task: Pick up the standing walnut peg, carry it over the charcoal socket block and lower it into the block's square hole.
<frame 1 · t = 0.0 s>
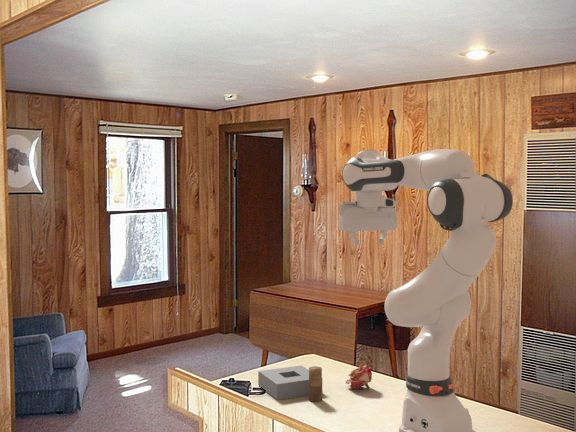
hand: (368, 244, 189), 48 cm above the kitchen counter, fingers open, 8 cm apart
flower: (358, 389, 196), on the kitchen counter
peg: (315, 399, 185), on the kitchen counter
socket block: (289, 389, 196), on the kitchen counter
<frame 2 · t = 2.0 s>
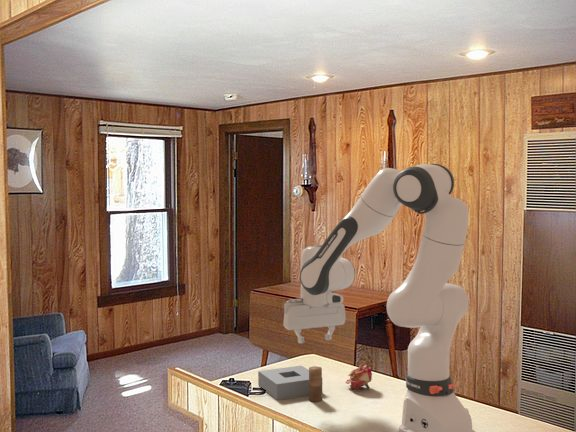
hand: (314, 341, 185), 18 cm above the kitchen counter, fingers open, 8 cm apart
nothing on the kitchen counter moved.
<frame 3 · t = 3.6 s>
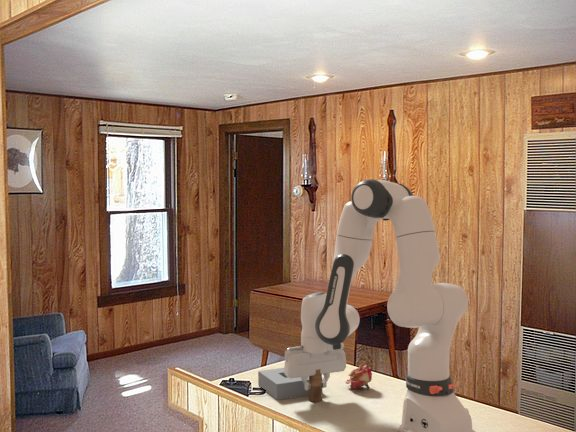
hand: (315, 388, 185), 4 cm above the kitchen counter, fingers closed on peg, 4 cm apart
peg: (315, 399, 185), on the kitchen counter, touching gripper
everything else where it was.
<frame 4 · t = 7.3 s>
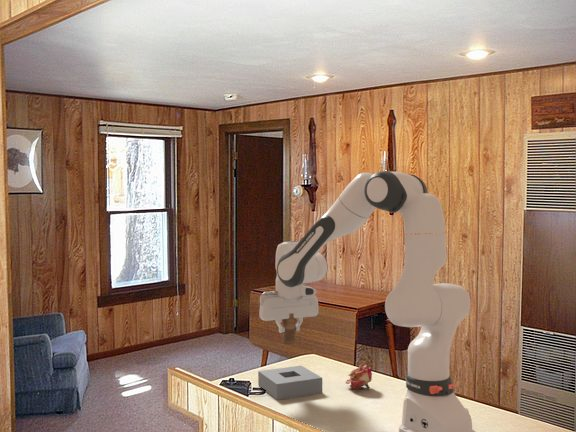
hand: (289, 331, 195), 19 cm above the kitchen counter, fingers closed on peg, 4 cm apart
peg: (289, 342, 195), point 15 cm above the kitchen counter, touching gripper
everything else where it was.
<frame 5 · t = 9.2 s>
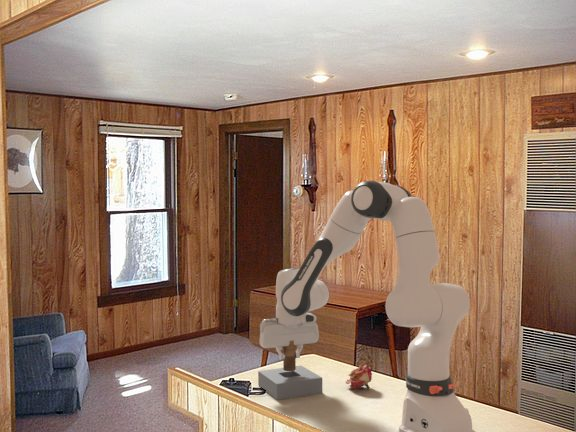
hand: (289, 358, 196), 10 cm above the kitchen counter, fingers closed on peg, 4 cm apart
peg: (289, 369, 196), point 7 cm above the kitchen counter, touching gripper
everything else where it was.
when the fingers open (6 cm above the kitchen counter, at t = 10.6 s): peg drops 2 cm, resting in socket block.
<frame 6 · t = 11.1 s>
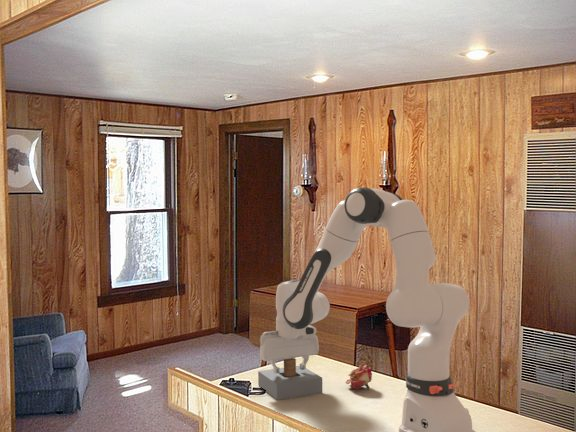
hand: (289, 371, 195), 6 cm above the kitchen counter, fingers open, 8 cm apart
peg: (289, 389, 196), resting in socket block
everything else where it was.
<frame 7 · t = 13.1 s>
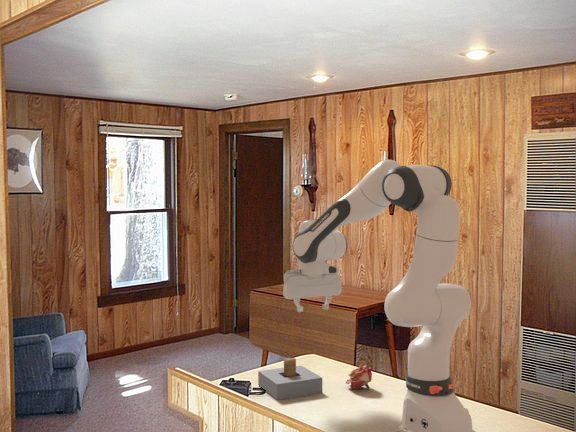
hand: (313, 310, 195), 26 cm above the kitchen counter, fingers open, 8 cm apart
nothing on the kitchen counter moved.
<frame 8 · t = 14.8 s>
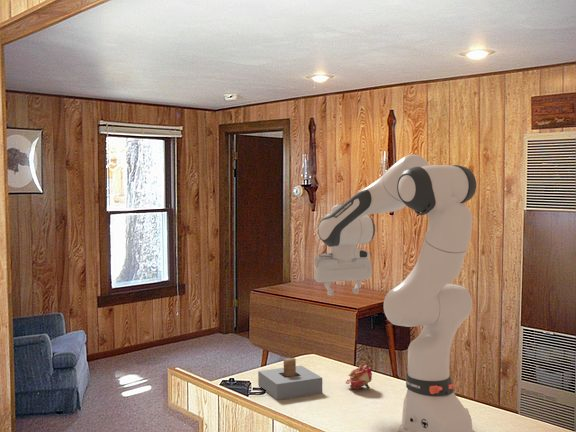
hand: (343, 294, 196), 31 cm above the kitchen counter, fingers open, 8 cm apart
nothing on the kitchen counter moved.
at the end: peg 0.1 cm off-centre on the socket block, point 0.0 cm above the socket block's base; peg tilted 0°; the gripper is holding nothing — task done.
